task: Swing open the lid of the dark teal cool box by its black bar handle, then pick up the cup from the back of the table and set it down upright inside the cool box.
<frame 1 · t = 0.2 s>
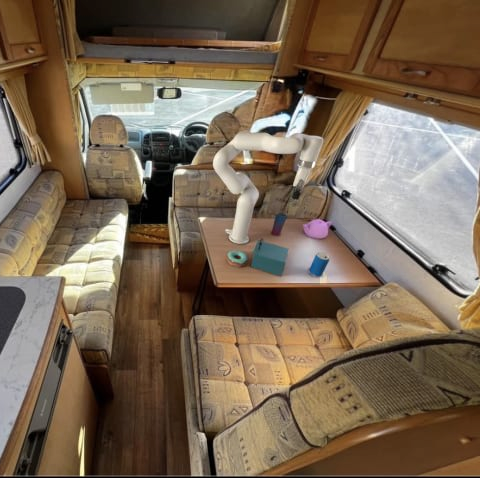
hand: (295, 195, 136), 36 cm above the table, tool pointing down, fingers open, 9 cm apart
teapot: (313, 234, 172), on the table
donut: (236, 261, 148), on the table
beverage can: (314, 273, 141), on the table
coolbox: (267, 264, 146), on the table
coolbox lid: (271, 247, 140), point 12 cm above the table, hinge at 0.0°
cup: (275, 233, 172), on the table
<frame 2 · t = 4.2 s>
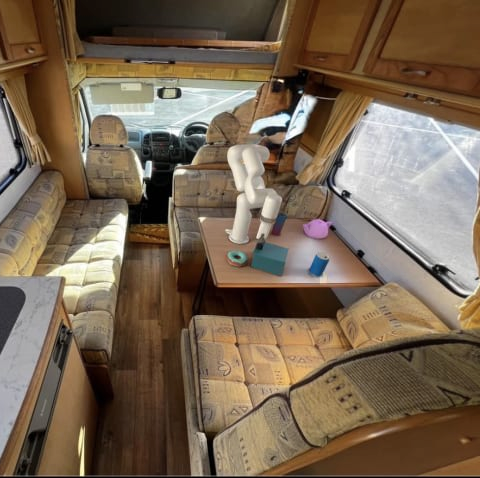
hand: (260, 246, 143), 10 cm above the table, tool pointing down, fingers closed on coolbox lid, 5 cm apart
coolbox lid: (271, 247, 140), point 12 cm above the table, hinge at 0.0°, touching gripper
everything else where it was.
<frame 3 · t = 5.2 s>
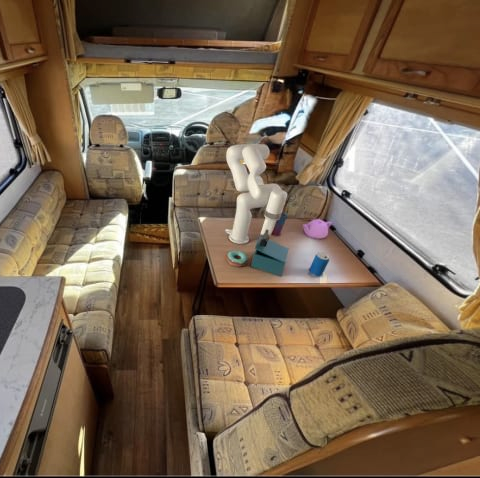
hand: (264, 242, 141), 13 cm above the table, tool pointing down, fingers closed on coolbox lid, 5 cm apart
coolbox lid: (274, 245, 139), point 13 cm above the table, hinge at 11.9°, touching gripper
everything else where it was.
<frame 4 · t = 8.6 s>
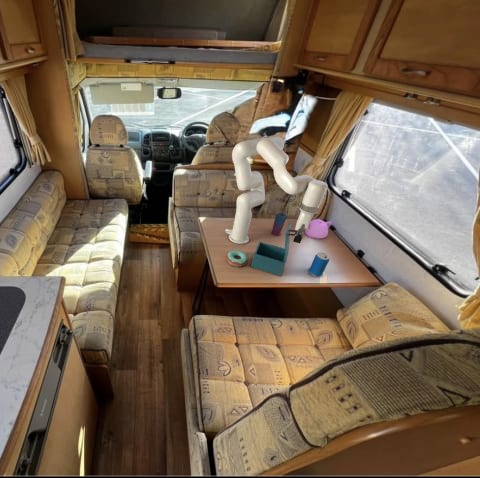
hand: (297, 239, 131), 21 cm above the table, tool pointing down, fingers closed on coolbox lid, 5 cm apart
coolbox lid: (292, 242, 133), point 18 cm above the table, hinge at 76.1°, touching gripper
everything else where it was.
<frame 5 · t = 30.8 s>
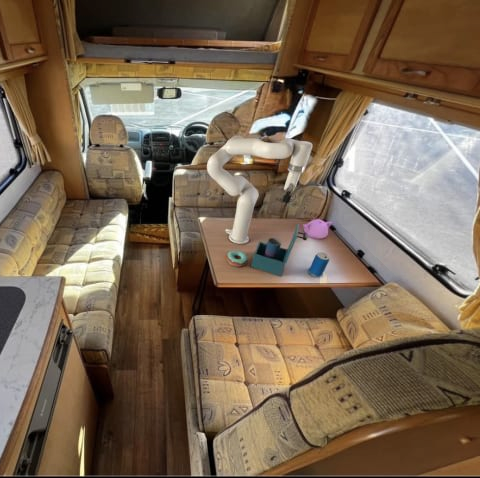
hand: (286, 198, 140), 33 cm above the table, tool pointing down, fingers open, 9 cm apart
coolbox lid: (297, 244, 132), point 17 cm above the table, hinge at 91.4°
cup: (267, 263, 146), point 1 cm above the table, touching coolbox
everything else where it was.
at the end: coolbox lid at +91° (first picture: +0°); cup inside the target area in the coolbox (0.0 cm from its centre), point 0.6 cm above the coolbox's base; cup tilted 0° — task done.
